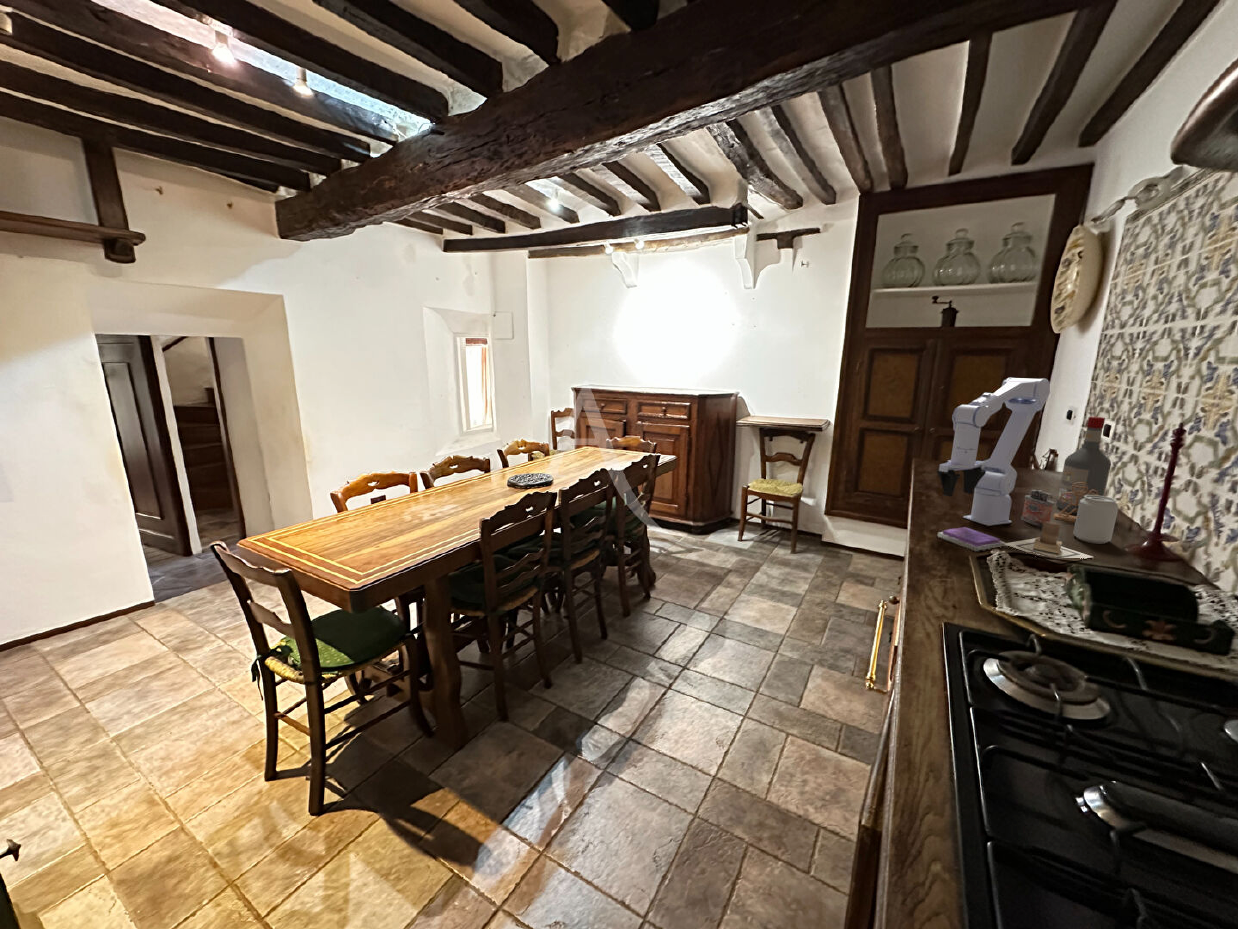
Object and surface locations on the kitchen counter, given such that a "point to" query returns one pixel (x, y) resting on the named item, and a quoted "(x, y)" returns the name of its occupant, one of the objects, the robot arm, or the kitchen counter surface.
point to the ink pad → (970, 539)
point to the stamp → (1048, 539)
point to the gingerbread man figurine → (1068, 516)
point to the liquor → (1085, 467)
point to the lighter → (1037, 508)
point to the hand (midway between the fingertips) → (957, 494)
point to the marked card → (1028, 547)
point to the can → (1096, 519)
